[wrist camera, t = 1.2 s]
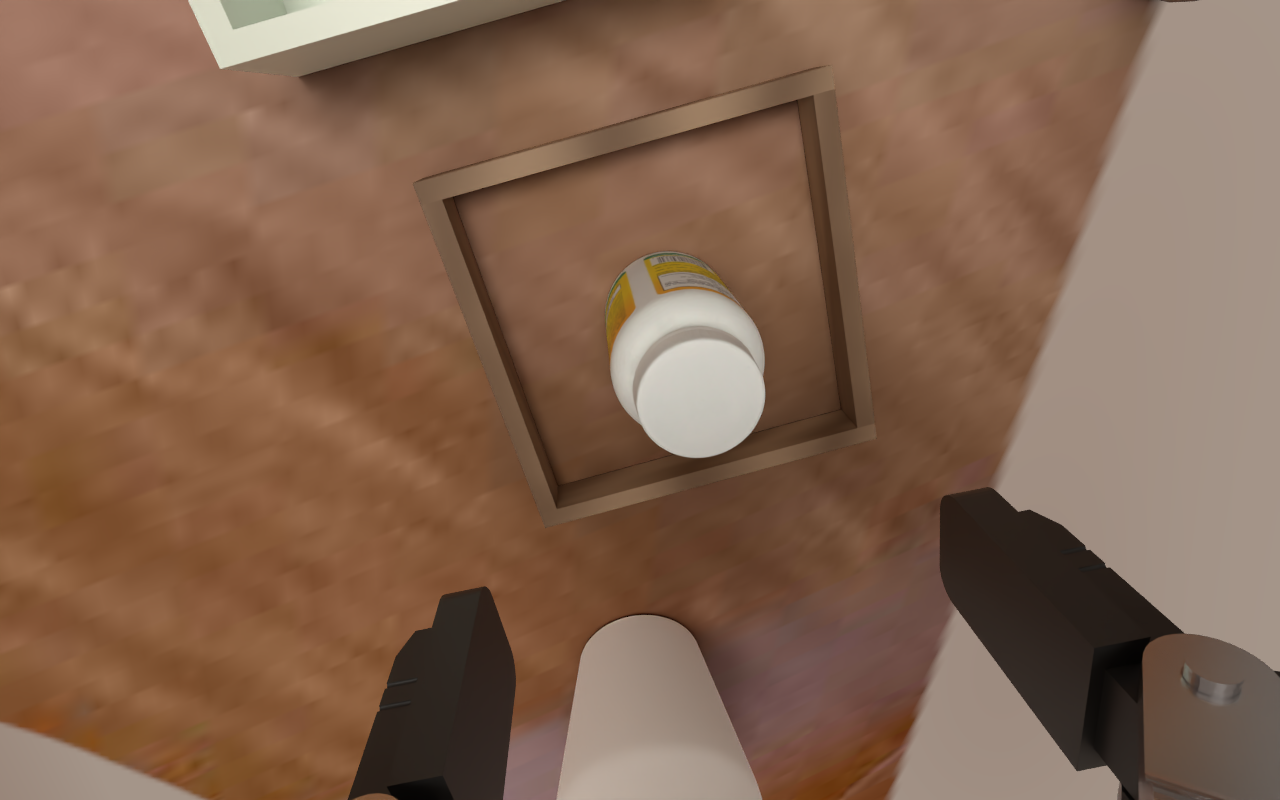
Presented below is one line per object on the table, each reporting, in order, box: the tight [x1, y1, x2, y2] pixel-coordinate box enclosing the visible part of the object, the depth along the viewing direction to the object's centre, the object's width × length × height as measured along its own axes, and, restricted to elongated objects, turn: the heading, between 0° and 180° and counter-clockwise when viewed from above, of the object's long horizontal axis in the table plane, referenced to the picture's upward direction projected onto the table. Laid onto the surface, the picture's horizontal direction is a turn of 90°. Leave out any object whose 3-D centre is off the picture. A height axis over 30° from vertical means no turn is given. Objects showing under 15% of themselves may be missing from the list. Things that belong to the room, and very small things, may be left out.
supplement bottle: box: [605, 251, 765, 458], centre depth 25 cm, size 5×5×10 cm
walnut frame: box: [413, 65, 877, 528], centre depth 28 cm, size 16×16×2 cm
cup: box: [557, 615, 762, 800], centre depth 31 cm, size 9×9×12 cm
